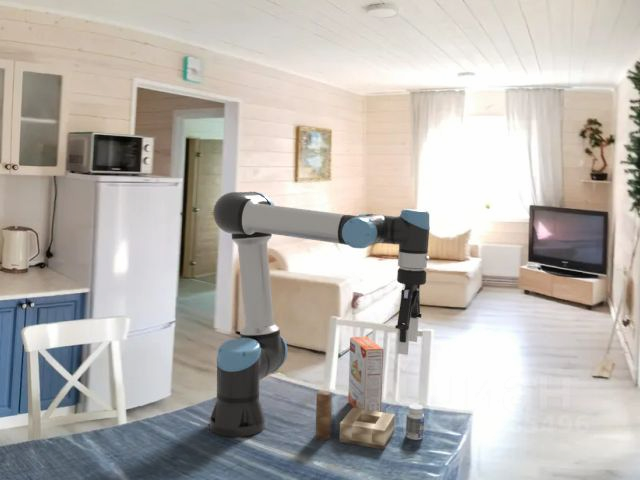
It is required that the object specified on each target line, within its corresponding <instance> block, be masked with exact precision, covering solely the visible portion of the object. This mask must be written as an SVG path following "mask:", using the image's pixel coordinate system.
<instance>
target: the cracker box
mask: <svg viewBox="0 0 640 480" xmlns="http://www.w3.org/2000/svg"><path fill="white" fill-rule="evenodd" d="M348 367H349V368H348V395H347V396H348V397H347V398H348V403H349V404H350V405H351V407H352V408H359V409H365V410H371V411H378V412H382V397H383V374H384V373H383V369H384V349H383V348H382V347H381V346H380V345H378V344H377V343H376V342H374V341H373V340H372V339H370V338H369V337H368V336H352V337H350V338H349V364H348Z"/></svg>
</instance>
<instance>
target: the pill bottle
mask: <svg viewBox="0 0 640 480" xmlns="http://www.w3.org/2000/svg"><path fill="white" fill-rule="evenodd" d="M405 422H406V424H405V436H406V438H407V439H409V440H414V441H418V440H422V439H423V438H424V431H425V430H424V429H425V427H424V426H425V414H424V406H423V405H422V404H417V403H411V404H409V405H408V411H407V413H406V421H405Z"/></svg>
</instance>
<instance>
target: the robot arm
mask: <svg viewBox="0 0 640 480" xmlns="http://www.w3.org/2000/svg"><path fill="white" fill-rule="evenodd" d="M213 219H214V222H215V224H216V225H217V227H218V228H219V229H220V230H221V231H223V232H225V233H228V234H231V240H232V241H233V242H234V243H235V244H236V245H237V251H238V263H239V264H238V265H239V273H240V274H239V275H240V284H241V297H242V298H241V299H242V309H243V318H244V319H243V320H244V325H243V326H244V327H243V328H242V329H241V330H240V333H239V334H240V337H237V338H234V339H229V340H227V341H224V342H223V343H221V345H219V347H218V348H217V349H218V350H217V355H216V401H215V403H214V406H213V409H212V412H211V415H210V418H209V428H210V430H211V432H213V433H215V434H216V435H219V436H223V437H227V438H229V437H230V438H244V437H248V436H249V437H250V436H253V435H255V434H258V433H261V431H263V430H264V429H265V427H266V416H265V413H264V410H263V407H262V404H261V401H260V384H261V383H260V382H261V380H262V379H264V378H266V377H267V376H269V375H272V374H274V373H275V372H276V371H278V370H279V369H280V368H281V367H282V366H283V365H284V363H285V362H286V360H287V357H288V345H287V342H286V340H285V338H284V337H282V335H281V330H280V327H279V326H278V325H277V324H276V323H275V320H274V309H273V308H274V307H273V298H272V285H271V274H270V262H269V251H268V242H269V241H270V239H271V238H272V235H276V236H284V237H290V238H297V239H303V240H311V241H320V242H325V243H326V242H327V243H334V244H340V245H347V246H349V247H350V248H354V249H366V248H368V247H371V246H373V245H376V244H385V245H386V244H388V245H398V257H397V258H398V259H397V266H398V269H397V275H396V276H397V277H396V281H397V283H400V284H402V285H404V289H402V290H401V292H400V293H401V295H400V303H399V308H398V309H399V311H398V318H397V323H396V324H395V326H394V327H395V330H396V329H397V330H398V331H397V348H396V354H398V355H405V356H408V355H409V344H410V343H409V342H414V343H417V342H418V333H419V332H418V330H419V318H420V319H421V318H422V313H421V301H420V299H421V298H420V297H421V295H420V294H421V293H420V289H421V286H422V285H425V284H426V283H427V272H428V271H427V270H426V268H427V264H428V261H430V257H429V256H428V252H429V241H430V240H429V237H430V230H431V229H430V228H431V227H430V213H429V212H428V211H427V210H424V209H411V208H403V209H402V210H401V211H400V215H386V214H385V215H384V214H373V213H360V214H358V215H353V214H344V213H335V212H328V211H320V210H310V209H303V208H297V207H289V206H281V205H275V204H274V202H273V200H272V199H271V198H270V197H269V196H267V195H266V194H263V193H261V192H257V191H237V192H236V191H232V192H231V191H230V192H228V193H225V194H223V195H222V196H220V197H219V198H218V199H217V201H216V202H215V203H214V206H213Z"/></svg>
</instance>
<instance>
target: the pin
mask: <svg viewBox="0 0 640 480" xmlns="http://www.w3.org/2000/svg"><path fill="white" fill-rule="evenodd" d="M332 395H333V394H332V392H330V391H327V390H319V391H317V392H316V407H315V433H314V434H315V436H314V437H315V438H316V440H321V441H327V440H329V439H331V425H332V399H333V398H332V397H333V396H332Z"/></svg>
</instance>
